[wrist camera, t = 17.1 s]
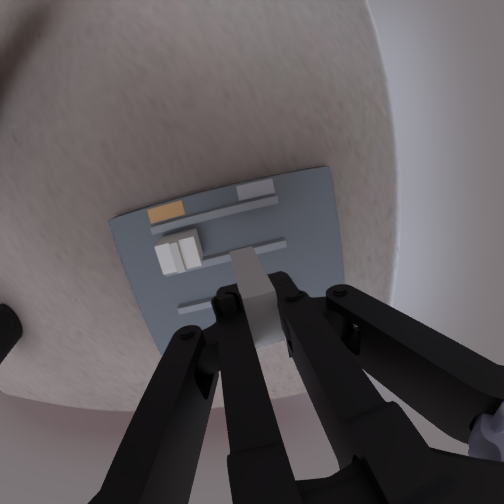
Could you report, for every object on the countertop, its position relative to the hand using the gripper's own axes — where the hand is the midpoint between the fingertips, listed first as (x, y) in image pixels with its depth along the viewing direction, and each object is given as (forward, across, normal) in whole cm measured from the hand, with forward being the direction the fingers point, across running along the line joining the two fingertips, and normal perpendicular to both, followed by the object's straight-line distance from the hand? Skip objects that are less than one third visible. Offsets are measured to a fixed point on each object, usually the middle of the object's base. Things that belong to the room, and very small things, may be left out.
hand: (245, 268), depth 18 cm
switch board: (+15, 0, -6) cm, 16 cm away
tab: (+13, -6, -1) cm, 14 cm away
